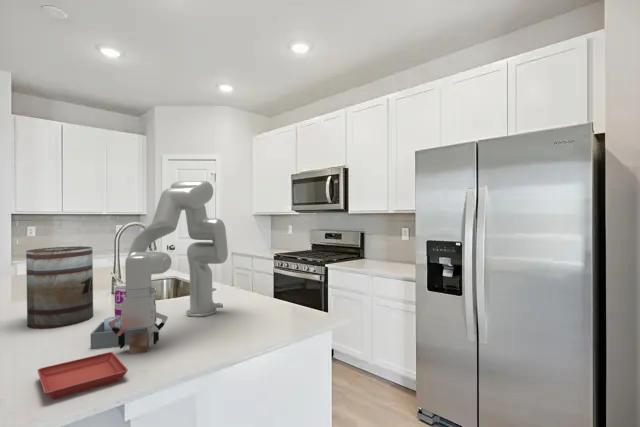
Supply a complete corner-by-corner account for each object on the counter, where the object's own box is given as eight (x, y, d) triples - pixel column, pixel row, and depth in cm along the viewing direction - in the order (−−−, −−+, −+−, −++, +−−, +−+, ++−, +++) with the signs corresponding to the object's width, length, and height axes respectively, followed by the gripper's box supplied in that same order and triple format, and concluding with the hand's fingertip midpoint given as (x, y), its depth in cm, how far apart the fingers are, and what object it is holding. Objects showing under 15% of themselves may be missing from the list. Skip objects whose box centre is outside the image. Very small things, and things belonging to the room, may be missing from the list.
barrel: (105, 314, 158) (104, 246, 158) (57, 331, 136) (56, 252, 136) (65, 311, 164) (64, 246, 164) (12, 326, 142) (11, 251, 142)
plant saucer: (112, 361, 109) (112, 350, 109) (129, 381, 96) (128, 369, 96) (37, 380, 97) (36, 368, 97) (44, 407, 84) (44, 393, 84)
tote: (153, 330, 136) (152, 317, 136) (147, 342, 123) (147, 328, 123) (101, 335, 131) (101, 322, 131) (90, 348, 118) (90, 333, 118)
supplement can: (127, 323, 145) (127, 286, 145) (110, 322, 146) (109, 286, 146) (141, 317, 153) (141, 282, 153) (124, 316, 154) (124, 282, 154)
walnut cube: (148, 346, 120) (148, 331, 120) (146, 352, 115) (146, 336, 115) (132, 348, 118) (132, 333, 118) (129, 354, 114) (129, 338, 114)
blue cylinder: (121, 335, 129) (121, 316, 129) (118, 340, 124) (119, 320, 124) (105, 337, 127) (106, 317, 127) (102, 341, 123) (102, 321, 123)
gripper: (168, 288, 123) (168, 338, 123) (111, 292, 118) (112, 344, 118) (166, 293, 116) (166, 345, 116) (105, 297, 110) (106, 352, 110)
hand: (139, 345), depth 117 cm, fingers open, 9 cm apart
